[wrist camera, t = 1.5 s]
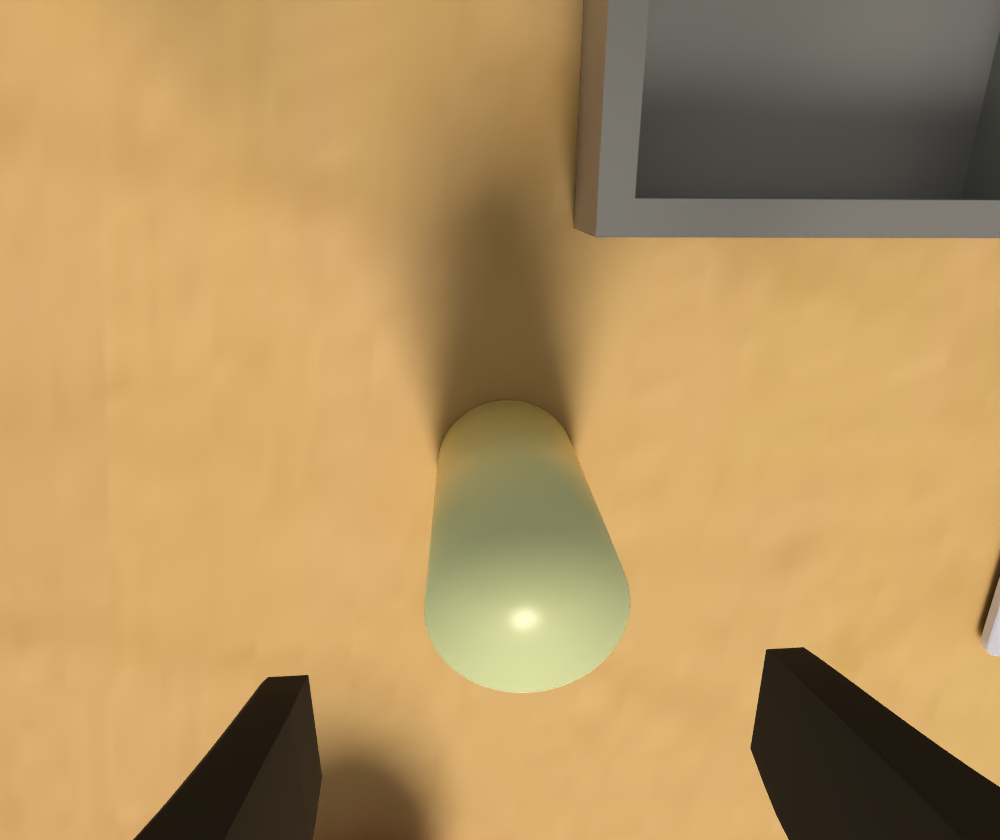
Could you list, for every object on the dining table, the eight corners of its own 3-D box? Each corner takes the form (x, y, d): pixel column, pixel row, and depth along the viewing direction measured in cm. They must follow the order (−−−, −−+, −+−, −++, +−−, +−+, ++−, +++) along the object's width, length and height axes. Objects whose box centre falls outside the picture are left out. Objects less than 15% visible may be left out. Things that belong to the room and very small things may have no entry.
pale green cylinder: (577, 399, 19) (637, 516, 12) (571, 524, 20) (622, 689, 14) (436, 400, 19) (420, 521, 12) (439, 526, 20) (428, 696, 13)
